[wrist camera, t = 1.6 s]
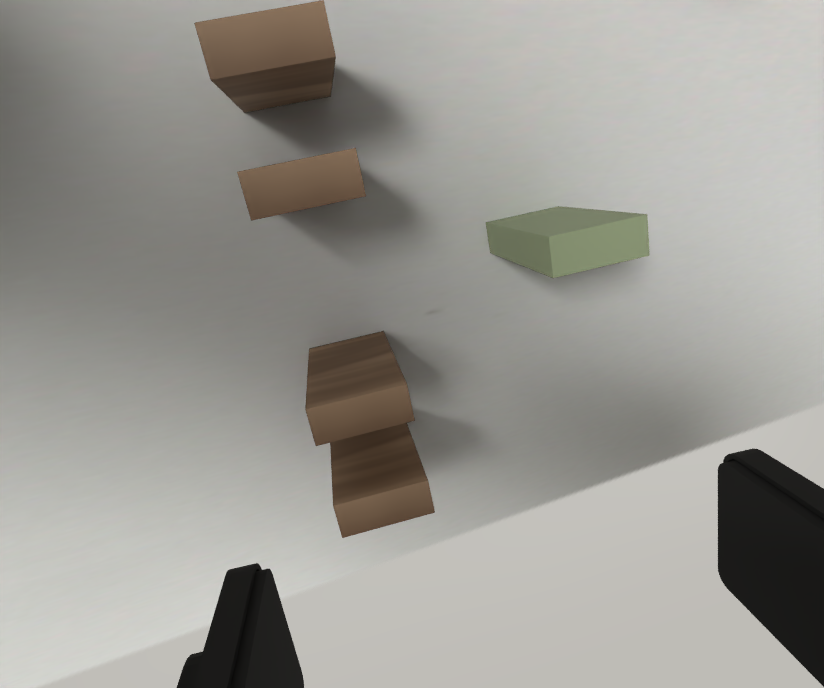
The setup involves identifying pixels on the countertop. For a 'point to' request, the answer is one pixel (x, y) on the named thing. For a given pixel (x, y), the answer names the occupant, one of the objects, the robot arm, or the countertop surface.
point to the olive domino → (569, 239)
